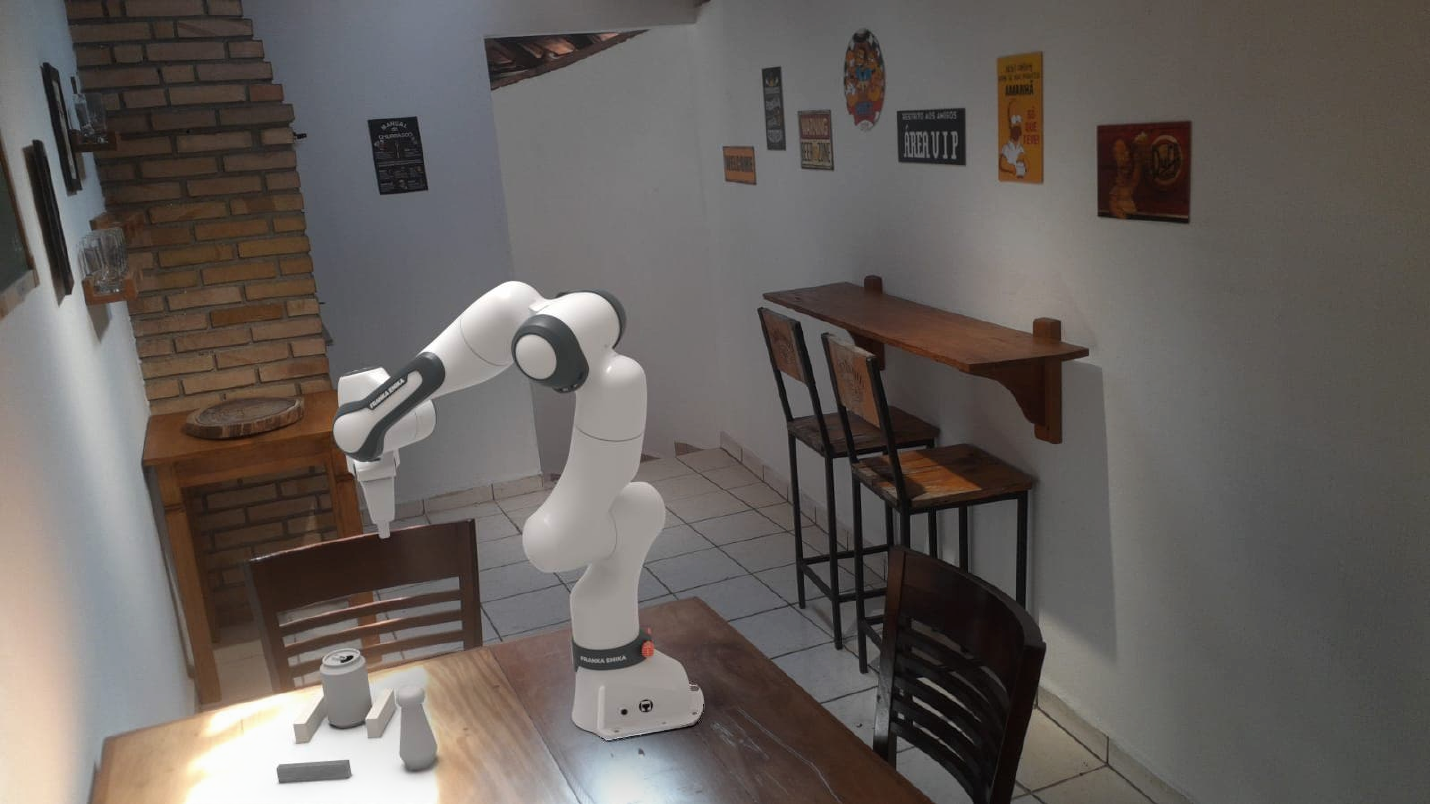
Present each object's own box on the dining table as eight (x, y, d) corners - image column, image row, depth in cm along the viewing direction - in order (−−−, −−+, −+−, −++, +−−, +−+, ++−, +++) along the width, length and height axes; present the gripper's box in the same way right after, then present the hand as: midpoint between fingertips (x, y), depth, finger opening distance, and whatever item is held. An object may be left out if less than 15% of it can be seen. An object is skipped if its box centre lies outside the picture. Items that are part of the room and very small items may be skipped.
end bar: (351, 773, 170) (349, 759, 170) (349, 778, 169) (346, 763, 168) (281, 778, 170) (279, 764, 169) (278, 782, 169) (276, 768, 168)
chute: (396, 707, 190) (393, 689, 189) (379, 737, 180) (377, 718, 180) (316, 712, 190) (313, 694, 189) (296, 743, 180) (293, 724, 180)
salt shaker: (446, 759, 172) (436, 685, 169) (419, 777, 168) (408, 701, 165) (421, 750, 176) (410, 677, 173) (393, 768, 171) (382, 693, 168)
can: (359, 731, 183) (349, 666, 180) (319, 729, 184) (309, 664, 182) (381, 708, 190) (372, 646, 187) (342, 706, 192) (333, 644, 189)
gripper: (351, 447, 198) (362, 518, 202) (357, 475, 180) (368, 553, 183) (387, 441, 201) (397, 512, 204) (396, 469, 182) (406, 546, 185)
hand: (383, 532), depth 193 cm, fingers open, 4 cm apart
